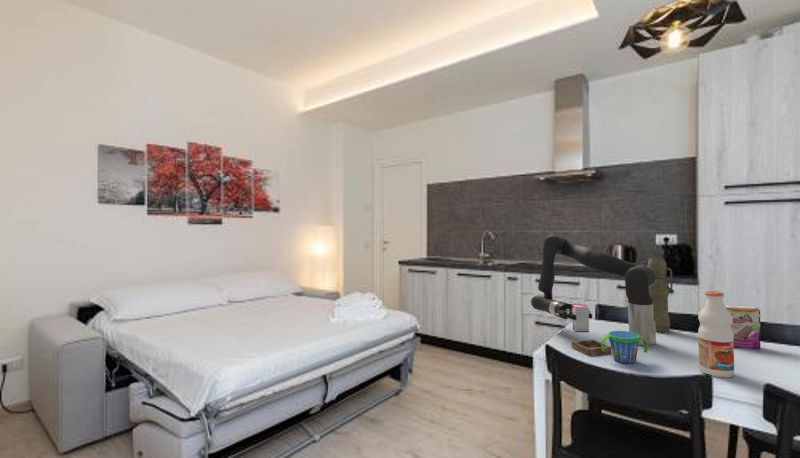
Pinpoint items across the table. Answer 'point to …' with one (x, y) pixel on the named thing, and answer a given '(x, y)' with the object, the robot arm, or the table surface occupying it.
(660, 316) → the thermos
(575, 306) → the supplement box
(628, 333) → the snack cup
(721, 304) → the fruit juice
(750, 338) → the candy bar box
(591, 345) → the wooden square frame
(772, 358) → the table surface
